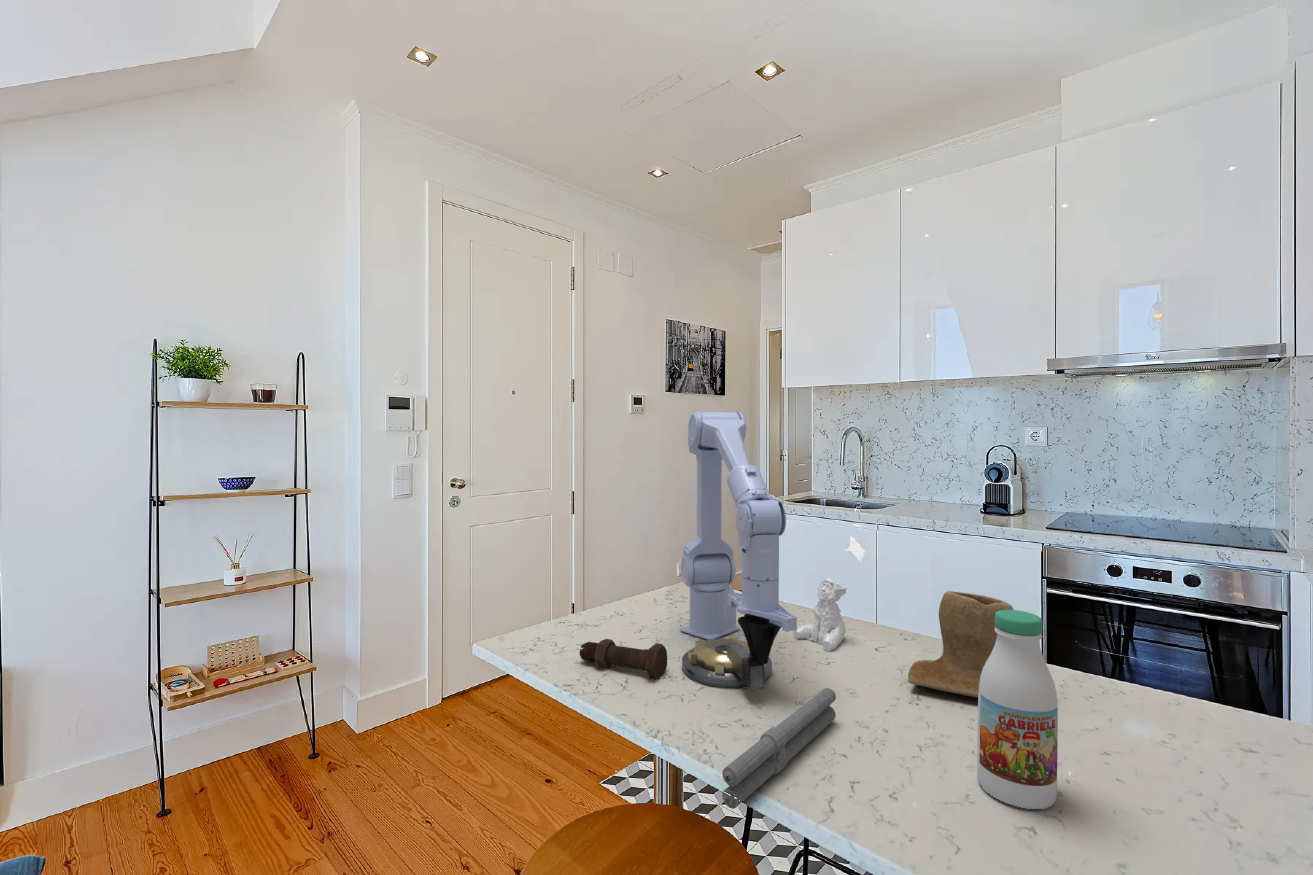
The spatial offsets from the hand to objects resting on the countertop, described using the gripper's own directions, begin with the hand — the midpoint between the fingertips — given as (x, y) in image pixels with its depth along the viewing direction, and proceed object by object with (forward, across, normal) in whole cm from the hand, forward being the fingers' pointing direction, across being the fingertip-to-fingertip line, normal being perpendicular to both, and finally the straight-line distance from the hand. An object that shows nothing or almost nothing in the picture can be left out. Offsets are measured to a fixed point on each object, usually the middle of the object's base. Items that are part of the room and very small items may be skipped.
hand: (759, 663), depth 94 cm
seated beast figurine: (+4, -10, +24) cm, 27 cm away
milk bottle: (+4, +35, +8) cm, 36 cm away
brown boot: (+4, +16, +28) cm, 32 cm away
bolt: (+4, -18, -15) cm, 24 cm away
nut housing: (+4, -8, 0) cm, 9 cm away
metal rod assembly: (+4, +17, -10) cm, 21 cm away
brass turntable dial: (+2, -5, -1) cm, 6 cm away
